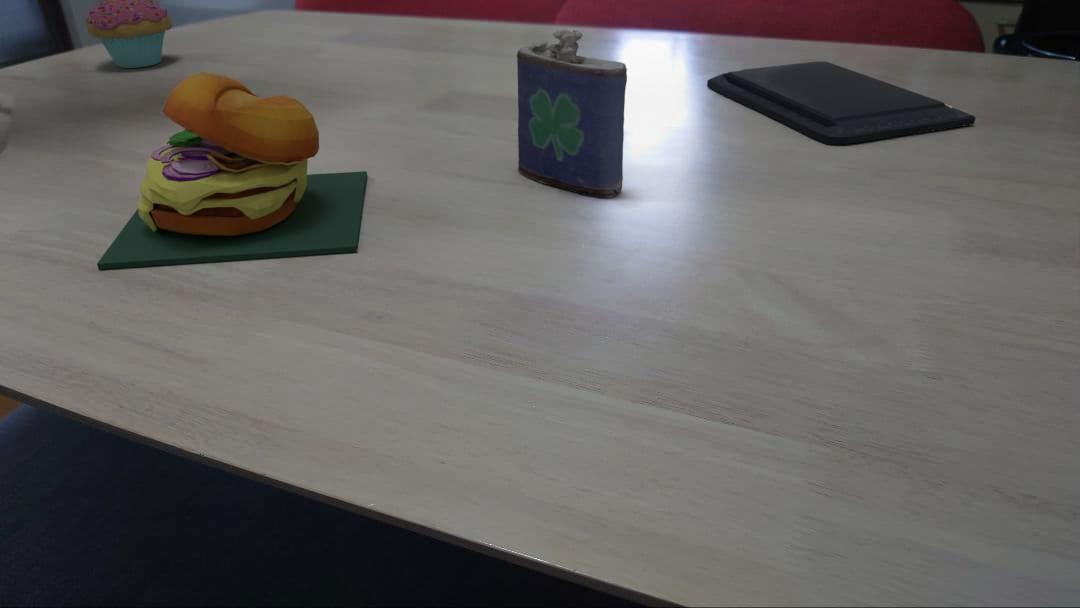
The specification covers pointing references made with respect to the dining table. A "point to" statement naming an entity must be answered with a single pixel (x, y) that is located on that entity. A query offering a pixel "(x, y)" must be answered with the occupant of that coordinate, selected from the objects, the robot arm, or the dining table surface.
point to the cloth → (310, 229)
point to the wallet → (836, 102)
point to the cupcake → (130, 31)
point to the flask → (571, 117)
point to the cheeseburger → (228, 160)
